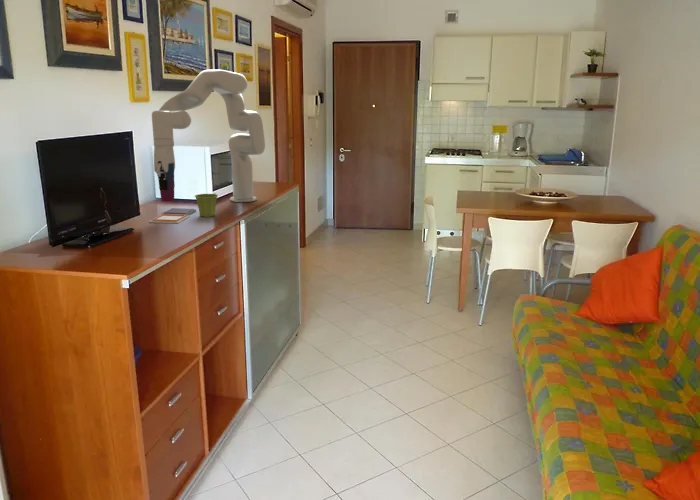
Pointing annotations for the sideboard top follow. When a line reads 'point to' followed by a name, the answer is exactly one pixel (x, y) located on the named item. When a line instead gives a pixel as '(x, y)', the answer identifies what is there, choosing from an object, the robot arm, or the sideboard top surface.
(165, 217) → the cream flat square piece
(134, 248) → the sideboard top surface
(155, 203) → the sideboard top surface
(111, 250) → the sideboard top surface
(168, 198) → the cup
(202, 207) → the plant pot
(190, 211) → the ink pad
